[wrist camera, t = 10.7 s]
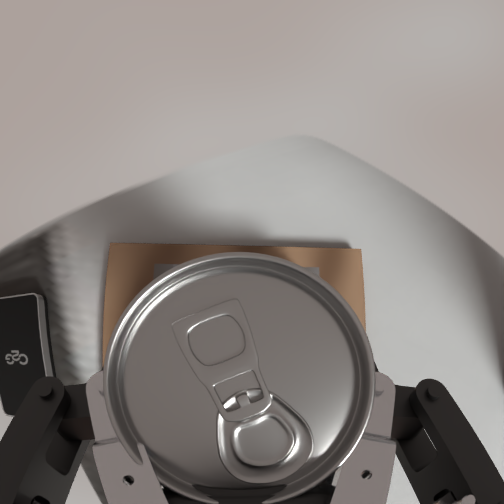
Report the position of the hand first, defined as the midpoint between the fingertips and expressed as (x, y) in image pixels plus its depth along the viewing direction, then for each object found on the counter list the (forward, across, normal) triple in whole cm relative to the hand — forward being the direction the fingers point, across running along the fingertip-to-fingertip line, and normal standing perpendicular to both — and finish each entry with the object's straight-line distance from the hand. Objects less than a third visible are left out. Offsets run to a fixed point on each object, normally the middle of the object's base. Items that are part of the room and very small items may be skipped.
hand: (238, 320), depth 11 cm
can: (+3, 0, +6) cm, 7 cm away
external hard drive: (+5, +19, +12) cm, 23 cm away
